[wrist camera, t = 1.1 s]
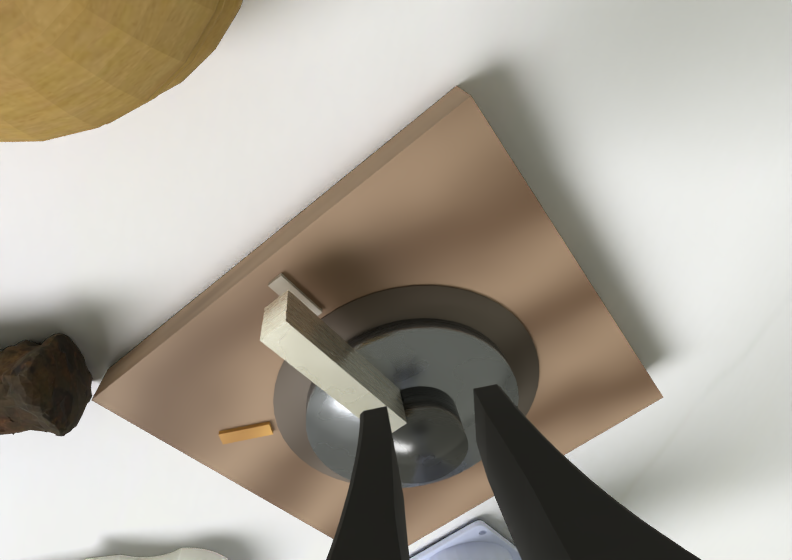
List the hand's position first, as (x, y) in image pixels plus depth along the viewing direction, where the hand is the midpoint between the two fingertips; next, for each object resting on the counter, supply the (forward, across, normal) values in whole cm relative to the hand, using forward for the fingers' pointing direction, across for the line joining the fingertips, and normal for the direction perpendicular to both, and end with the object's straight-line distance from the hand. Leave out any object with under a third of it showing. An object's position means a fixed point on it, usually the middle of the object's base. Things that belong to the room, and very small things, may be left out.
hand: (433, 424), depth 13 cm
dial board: (+10, 0, +8) cm, 13 cm away
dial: (+8, +1, +6) cm, 10 cm away
